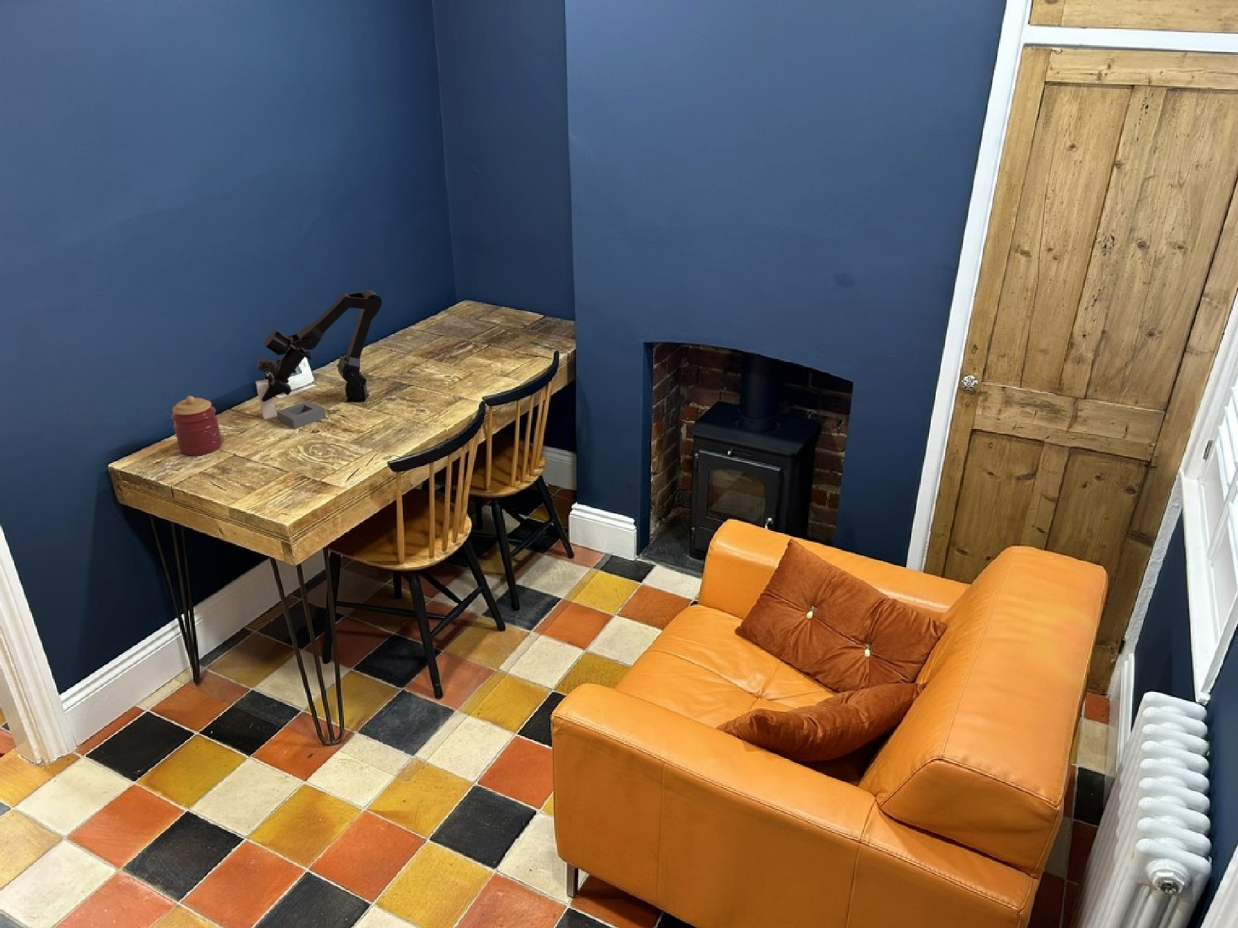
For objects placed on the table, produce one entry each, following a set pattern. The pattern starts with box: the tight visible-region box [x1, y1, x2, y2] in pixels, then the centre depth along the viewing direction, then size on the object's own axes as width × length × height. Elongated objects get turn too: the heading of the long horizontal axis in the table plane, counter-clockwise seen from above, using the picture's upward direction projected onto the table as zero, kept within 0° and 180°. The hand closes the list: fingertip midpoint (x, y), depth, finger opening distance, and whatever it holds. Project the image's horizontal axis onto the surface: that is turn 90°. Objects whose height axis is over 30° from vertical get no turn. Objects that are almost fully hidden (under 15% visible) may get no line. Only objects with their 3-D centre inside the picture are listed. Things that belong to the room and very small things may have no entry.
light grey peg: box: [255, 379, 277, 420], centre depth 317 cm, size 4×4×12 cm
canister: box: [170, 395, 223, 456], centre depth 296 cm, size 13×13×18 cm
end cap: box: [276, 400, 327, 430], centre depth 317 cm, size 12×10×4 cm
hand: (261, 399), depth 317 cm, fingers closed on light grey peg, 3 cm apart
